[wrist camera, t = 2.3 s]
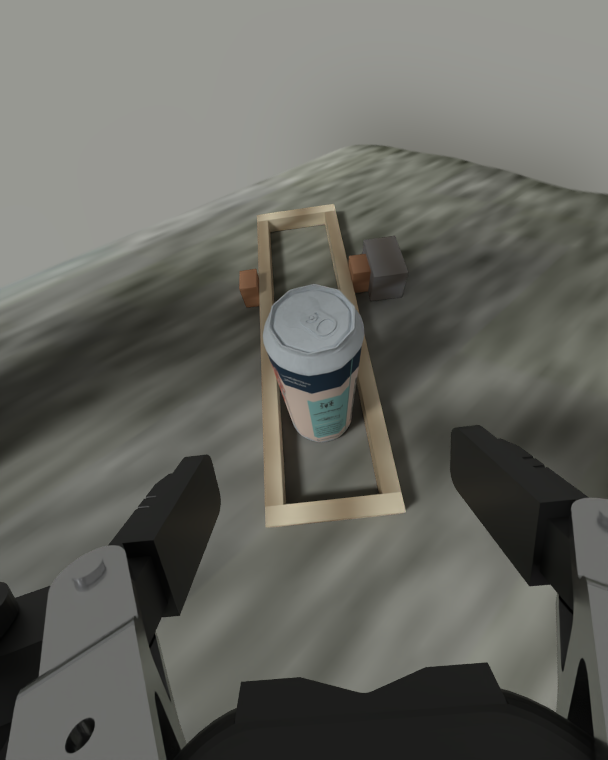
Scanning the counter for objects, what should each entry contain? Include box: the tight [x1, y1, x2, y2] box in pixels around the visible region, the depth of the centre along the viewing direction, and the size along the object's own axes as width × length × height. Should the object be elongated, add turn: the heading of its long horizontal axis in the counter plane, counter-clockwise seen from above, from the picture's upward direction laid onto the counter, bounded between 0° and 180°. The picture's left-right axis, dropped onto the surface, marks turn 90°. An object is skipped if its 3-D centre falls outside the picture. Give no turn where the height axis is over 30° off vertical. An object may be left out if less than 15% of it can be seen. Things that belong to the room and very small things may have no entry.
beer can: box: [263, 284, 364, 442], centre depth 18 cm, size 5×5×12 cm
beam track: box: [239, 204, 409, 528], centre depth 26 cm, size 15×32×3 cm, turn 5°
